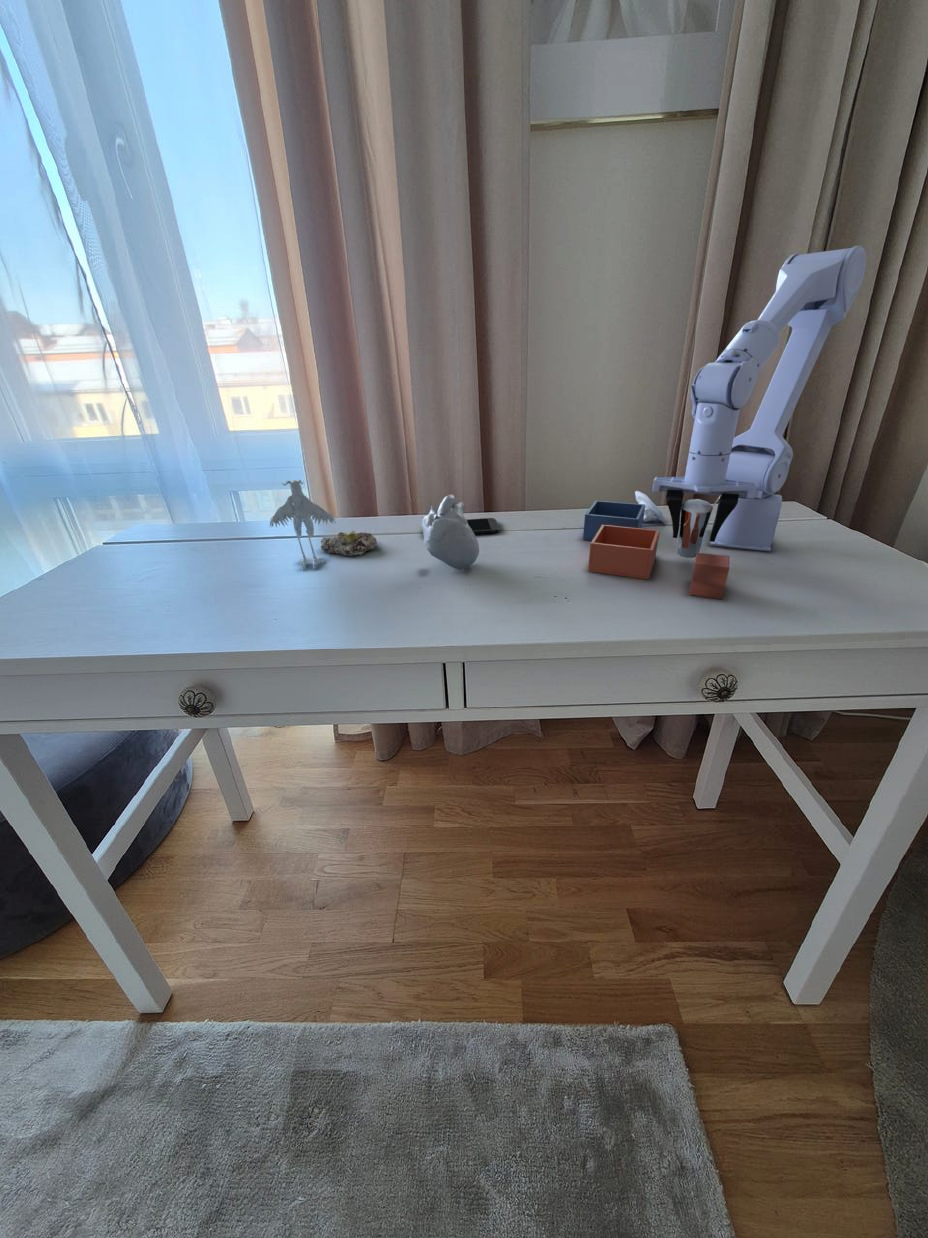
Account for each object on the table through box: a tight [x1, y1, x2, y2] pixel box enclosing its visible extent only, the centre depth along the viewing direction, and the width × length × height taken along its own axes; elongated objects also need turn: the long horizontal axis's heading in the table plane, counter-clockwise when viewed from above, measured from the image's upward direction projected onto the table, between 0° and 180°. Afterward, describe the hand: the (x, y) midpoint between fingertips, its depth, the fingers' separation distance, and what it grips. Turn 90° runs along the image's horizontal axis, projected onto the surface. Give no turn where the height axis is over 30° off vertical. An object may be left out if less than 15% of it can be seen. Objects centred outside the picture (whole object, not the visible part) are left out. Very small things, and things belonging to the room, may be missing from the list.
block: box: [688, 552, 730, 600], centre depth 74 cm, size 4×4×5 cm
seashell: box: [634, 490, 666, 523], centre depth 102 cm, size 8×5×8 cm
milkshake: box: [677, 495, 721, 559], centre depth 81 cm, size 5×5×10 cm
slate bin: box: [582, 500, 645, 542], centre depth 96 cm, size 10×10×5 cm
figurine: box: [269, 479, 337, 571], centre depth 86 cm, size 11×4×15 cm, turn 95°
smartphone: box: [466, 517, 501, 535], centre depth 102 cm, size 7×15×1 cm, turn 95°
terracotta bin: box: [587, 525, 661, 580], centre depth 83 cm, size 10×10×5 cm
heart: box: [421, 493, 480, 570], centre depth 84 cm, size 10×10×12 cm
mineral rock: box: [320, 530, 378, 557], centre depth 95 cm, size 11×4×8 cm
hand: (693, 537), depth 82 cm, fingers closed on milkshake, 5 cm apart
